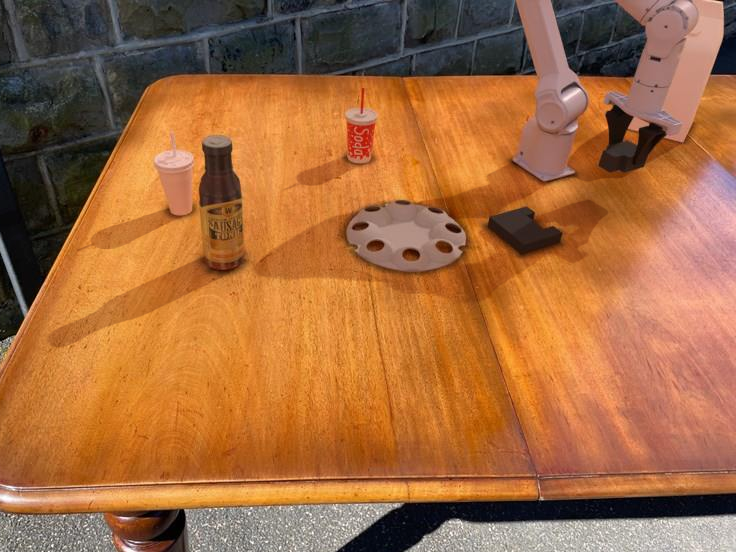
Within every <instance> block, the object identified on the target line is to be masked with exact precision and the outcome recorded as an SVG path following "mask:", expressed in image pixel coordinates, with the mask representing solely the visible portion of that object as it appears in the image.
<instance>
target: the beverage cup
mask: <svg viewBox="0 0 736 552" xmlns="http://www.w3.org/2000/svg"><path fill="white" fill-rule="evenodd" d="M364 100H365V87H361V93H360V107H354V108H351V109H348V110H346V112H345V114H344V116H345V117H344V118H345V120H346V152H347V153H346V154H347V155H346V156H347V160H348V161H350V162H351V163H354V164H358V165H359V164H366V163H369V162H370V161H371V159H372V151H373V145H374V137H375V130H376V124H377V121H378V116H379V115H378V112H376V111H375V110H373V109H370V108H366V107H364V103H365V101H364Z"/></svg>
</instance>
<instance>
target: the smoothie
mask: <svg viewBox="0 0 736 552" xmlns="http://www.w3.org/2000/svg"><path fill="white" fill-rule="evenodd" d="M169 134H170V142H171V147H172V149H170V150H165V151H161V152H160V153H158V154H156V156H155V157H154V158H153V167H154V169H155V170H156V171H157V173H158V177H159V180H160V183H161V186H162V189H163V193H164V195H165V199H166V202H167V206H168V208H169V211H170V214H172V215H175V216H186V215H188V214H190V213H191V212H192V211H193V167H194V166H195V160H194V156H193V154H192V153H191V152H189V151H187V150H182V149H177V145H176V138H175V132H174V131H173V130H171V131H169Z"/></svg>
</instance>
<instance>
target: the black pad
mask: <svg viewBox="0 0 736 552" xmlns="http://www.w3.org/2000/svg"><path fill="white" fill-rule="evenodd" d="M535 215H536V212H535V211H534V210H533V209H531V208H530V207H528V206H521V207H519V208H514V209H512V210H508V211H504V212H501V213H498V214H494V215H490V216H489V217H488V221H487V228H488V229H489V230H491V231H492V232H493V233H494V234H496V235H497V236H498V237H499V238H500V239H502V240H503V241H504V242H506V243H507V244H508V245H509V246H511V248H513V249H514V250H515V251H516V252H518V253H519V254H520V255H526V254H529V253H532V252H536V251H538V250H542V249H544V248H545V249H546V248H547V247H551V246H554V245H558V244H560V243H561V242H562V241H561V240H562V237H563V234H564V232H563V231H561V230H560V229H559V228H557V227H556V226H554V225H551V226H549V227H545V228H544V227H543V226H541V224H539V223H538V222H536V221H535V220H534V219H535Z"/></svg>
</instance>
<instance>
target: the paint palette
mask: <svg viewBox="0 0 736 552" xmlns="http://www.w3.org/2000/svg"><path fill="white" fill-rule="evenodd" d="M363 224H364V225H365V224H367V225H368V227H366V228H363V229H361V230H356V229H355V230H354V229H353V228H354V227H358V226H362V225H363ZM447 227H449V228H454V229H457V230H459V231H460V232H458V233H457V232H453V231H451V230H449V229H448V228H447ZM346 239H347V240H346V241H347V242H348V244H349V245H352V246H356V247H357V249H354V252H355V253H356V254H357V255H358V256H359V257H361V258H362V259H364V260H366V261H367V262H369V263H371V264H373V265H376V266H378V267H382V268H385V269H389V270H392V271H399V272H405V273H406V272H407V273H411V272H412V273H418V272H419V273H420V272H427V271H433V270H437V269H441V268H443V267H446V266H449V265H450V264H452V263H454V262H455V261H456V260H458V259H459V258H460V256H462V254H463V252H464V251H463V250H461V249H459V248H460V247H465V246H466V242H467V234H466V231H465V230H464V229H463V228H462V227H461V226H460V224H459V223H458V222H456V221H455V219H453V218H452V217H450V216H449V215H448V214H447V212H446V211H445V210H443V209H442V208H440V207H438V206H434V205H429V206H425V205H420V204H415V203H414V202H412V201H410V200H407V199H396V200H393V201H391V202H390V203H385V204H384V207H383V206H380V205H368V206H366V207H364V208H362V209H361V210H359V211H358V213H357V214H356V215H355V216H354V217H353V218H352V219H351V220H350V221H349V224H348V226H347V228H346ZM374 241H377V242H379V243H383V247H382V248H381V249H380V250H377V251H371V250H369V249H368V245H369V244H370V243H372V242H374ZM440 242H444V243H447V244H449V245H450V247H451V249H452V251H450V252H448V253H446V252H442V251H440V250H439V249H438V248H437V246H436V245H437V244H438V243H440ZM407 250H408V251H409V250H410V251H417V252H418V253H419V258H418V259H417V260H414V261H409V260H407V259H405V257H403V253H404V252H405V251H407Z"/></svg>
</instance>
